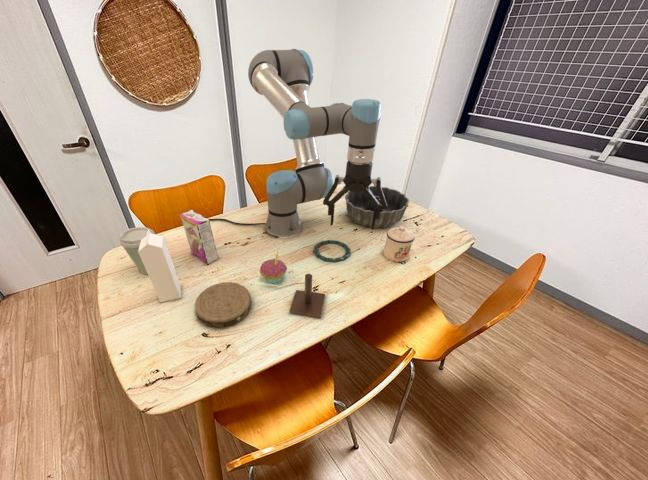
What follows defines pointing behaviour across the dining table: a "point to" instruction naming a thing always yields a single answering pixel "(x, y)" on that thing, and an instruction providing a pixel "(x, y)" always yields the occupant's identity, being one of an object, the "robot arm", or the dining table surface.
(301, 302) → the post
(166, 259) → the milk
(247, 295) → the wood slice
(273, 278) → the cupcake
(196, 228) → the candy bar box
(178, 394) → the dining table surface
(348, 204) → the bundt pan
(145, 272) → the disposable coffee cup
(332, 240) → the ring
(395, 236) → the teacup with lid
